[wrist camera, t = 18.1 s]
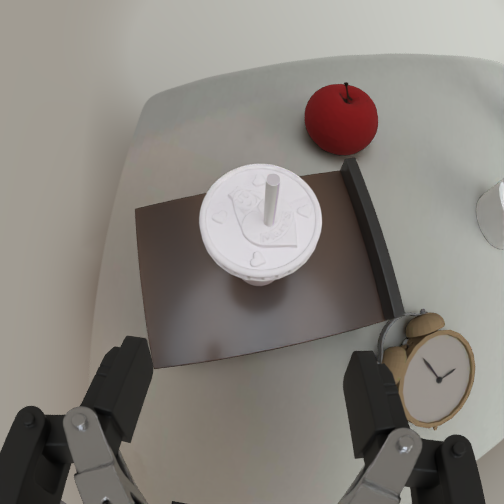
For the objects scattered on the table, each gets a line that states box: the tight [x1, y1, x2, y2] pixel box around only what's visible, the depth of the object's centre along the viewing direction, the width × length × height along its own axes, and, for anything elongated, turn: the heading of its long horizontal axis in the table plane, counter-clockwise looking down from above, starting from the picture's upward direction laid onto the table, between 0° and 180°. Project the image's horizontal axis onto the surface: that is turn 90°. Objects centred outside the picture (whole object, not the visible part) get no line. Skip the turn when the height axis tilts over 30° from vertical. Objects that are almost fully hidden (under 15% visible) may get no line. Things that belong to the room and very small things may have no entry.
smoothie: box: [199, 164, 322, 286], centre depth 18 cm, size 6×6×14 cm
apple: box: [305, 82, 378, 155], centre depth 34 cm, size 9×9×10 cm
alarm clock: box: [377, 309, 475, 430], centre depth 29 cm, size 11×5×15 cm
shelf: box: [135, 158, 405, 369], centre depth 28 cm, size 20×14×11 cm
